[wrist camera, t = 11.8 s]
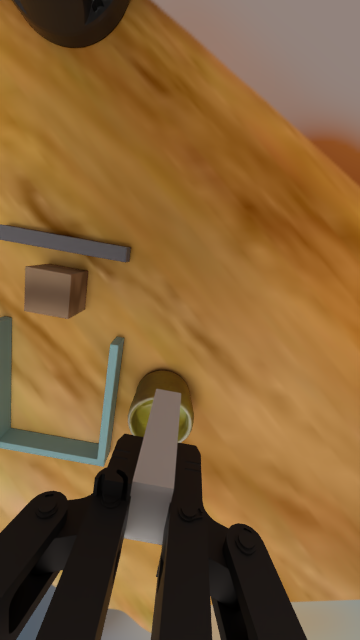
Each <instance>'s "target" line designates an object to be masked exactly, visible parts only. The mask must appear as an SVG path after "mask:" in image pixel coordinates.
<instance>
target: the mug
mask: <svg viewBox="0 0 360 640" xmlns="http://www.w3.org/2000/svg"><path fill="white" fill-rule="evenodd" d="M156 389H161V390H166V391H172V392H177V393H181V404H180V417H179V429H178V443H181V442H182V441H184V440H185V439H186V438H187V437H188V435H189V434H190V432H191V430H192V426H193V420H194V413H193V407H192V402H191V398H190V393H189V389H188V386H187V384H186V383H185V381H184V380H183V379H182V378H181V377H180V376H178V375H177V374H175V373H172V372H170V371H164V370H162V371H155V372H152V373H150V374H148V375H146V376H145V377H144V378H143V379H142V380H141V381H140V383H139V385H138V387H137V390H136V394H135V396H134V399H133V401H132V404H131V407H130V410H129V414H128V425H129V428H130V431H131V433H132V435H135V436H140V437H144V435H145V431H146V427H147V423H148V419H149V415H150V411H151V408H152V404H153V400H154V396H155V392H156Z"/></svg>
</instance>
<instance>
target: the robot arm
mask: <svg viewBox="0 0 360 640" xmlns="http://www.w3.org/2000/svg"><path fill="white" fill-rule="evenodd" d="M12 1H13V3H14V4H15V5H16V7H17V8H18V10H19V11H20V12H21V14H22V15H23V17H24V18H25V19H26V21H27V22H28V23H29V24H30V25H31V27H32V28H33V29H34V30H35V31H37V32H38V33H39V34H40V35H41V36H43V37H44V38H46V39H47V40H49V41H51V42H53V43H55V44H58V45H61V46H66V47H83V46H88V45H91V44H93V43H96V42H98V41H99V40H101V39H102V38H104V37H105V36H106V35H108V34H109V33H110V32H111V31H112V30H113V29H114V28H115V26H116V25H117V24H118V23H119V21H120V19H121V18H122V16H123V14H124V12H125V10H126V8H127V5H128V3H129V0H12ZM180 404H181V393H177V392H172V391H166V390H161V389H156V392H155V396H154V400H153V404H152V408H151V411H150V415H149V419H148V423H147V427H146V431H145V435H144V437H140V436H135V435H129V434H124V435H123V436H122V437H121V438H120V439H119V440H118V441H117V444H116V446H115V449H114V451H113V454H112V457H111V459H110V462H109V464H108V467H107V468H104V469H103V470H101V471H100V472H99V473H98V474H97V476H96V477H95V482H94V491H93V494H91V495H89V496H87V497H85V498H81V499H75V500H67V498H66V496H65V495H63V494H62V493H61V492H57V491H48V492H44V493H42V494H39V495H37V496H36V497H35V498H34V499H32V500H31V501H30V502H29V503H28V504H27V505H26V506H25V507H24V509H23V510H22V511H21V512H20V513H19V514H18V515H17V516H16V517H15V518H14V519H13V520H12V521H11V522H10V523H9V524H8V525H7V526H6V528H5V529H4V530H3V531H2V532H1V533H0V640H16V639H17V637H18V636H19V634H20V633H21V631H22V629H23V628H24V626H25V624H26V623H27V622H28V620H29V619H30V617H31V615H32V614H33V612H34V611H35V609H36V608H37V606H38V604H39V603H40V601H41V600H42V598H43V597H44V595H45V594H46V592H47V590H48V589H49V587H50V586H51V584H52V583H53V581H54V580H55V578H56V576H57V575H58V573H59V572H60V570H63V572H62V575H61V577H60V580H59V582H58V585H57V587H56V590H55V592H54V595H53V597H52V600H51V602H50V605H49V607H48V610H47V612H46V615H45V617H44V620H43V622H42V625H41V628H40V630H39V632H38V635H37V637H36V640H101V636H102V632H103V627H104V623H105V619H106V614H107V610H108V606H109V602H110V597H111V593H112V589H113V584H114V580H115V576H116V572H117V567H118V563H119V559H120V554H121V548H122V543H123V538H126V539H132V540H137V541H143V542H148V543H154V544H159V545H162V552H161V556H160V561H159V566H158V570H157V575H156V577H158V579H157V588H156V597H155V606H154V615H153V625H152V634H151V640H212V627H211V605H210V596H211V600H212V604H213V608H214V612H215V616H216V621H217V625H218V629H219V633H220V638H221V640H307V638H306V636H305V634H304V632H303V629H302V627H301V625H300V623H299V620H298V619H297V616H296V614H295V611H294V609H293V607H292V605H291V602H290V600H289V598H288V596H287V594H286V591H285V589H284V587H283V585H282V582H281V580H280V578H279V576H278V573H277V571H276V569H275V567H274V565H273V562H272V560H271V558H270V556H269V553H268V551H267V549H266V547H265V545H264V542H263V540H262V539H261V537H260V536H259V534H258V533H257V532H256V531H255V530H254V529H253V528H251V527H249V526H247V525H245V524H239V523H238V524H234V525H232V526H231V527H230V528H229V529H228V528H226V527H225V526H223V525H221V524H219V523H217V522H216V521H214V520H213V519H212V518H211V517H210V516H209V515H208V514H207V512H206V511H205V509H204V506H203V501H202V478H201V454H200V452H199V450H198V449H197V447H196V446H194V445H189V444H183V443H178V429H179V417H180Z"/></svg>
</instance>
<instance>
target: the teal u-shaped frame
mask: <svg viewBox="0 0 360 640" xmlns="http://www.w3.org/2000/svg"><path fill="white" fill-rule="evenodd" d="M123 344H124V338H122V337H116V338H115V339H114V341H113V342H112V343H111V344H110V352H109V361H108V370H107V378H106V387H105V396H104V405H103V413H102V422H101V431H100V440H99V444H97V443H91V442H86V441H80V440H75V439H69V438H63V437H58V436H52V435H47V434H41V433H36V432H30V431H25V430H19V429H14V428H11V349H12V318H11V317H6V316H4V317H1V318H0V448H3V449H9V450H14V451H20V452H26V453H31V454H37V455H42V456H48V457H53V458H59V459H64V460H70V461H75V462H81V463H86V464H92V465H98V466H103V467H104V464H105V462H106V460H107V457H108V455H109V452H110V446H111V438H112V430H113V422H114V414H115V407H116V399H117V391H118V383H119V375H120V367H121V359H122V352H123Z"/></svg>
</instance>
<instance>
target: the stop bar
mask: <svg viewBox="0 0 360 640" xmlns="http://www.w3.org/2000/svg"><path fill="white" fill-rule="evenodd" d="M0 240H5V241H11V242H16V243H22V244H27V245H33V246H38V247H44V248H49V249H55V250H60V251H66V252H71V253H77V254H82V255H88V256H93V257H99V258H104V259H110V260H116V261H121V262H129V259H130V251H131V248H130V247H125V246H119V245H114V244H108V243H102V242H97V241H91V240H86V239H80V238H75V237H69V236H64V235H58V234H53V233H47V232H42V231H36V230H31V229H25V228H20V227H14V226H9V225H0Z"/></svg>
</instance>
